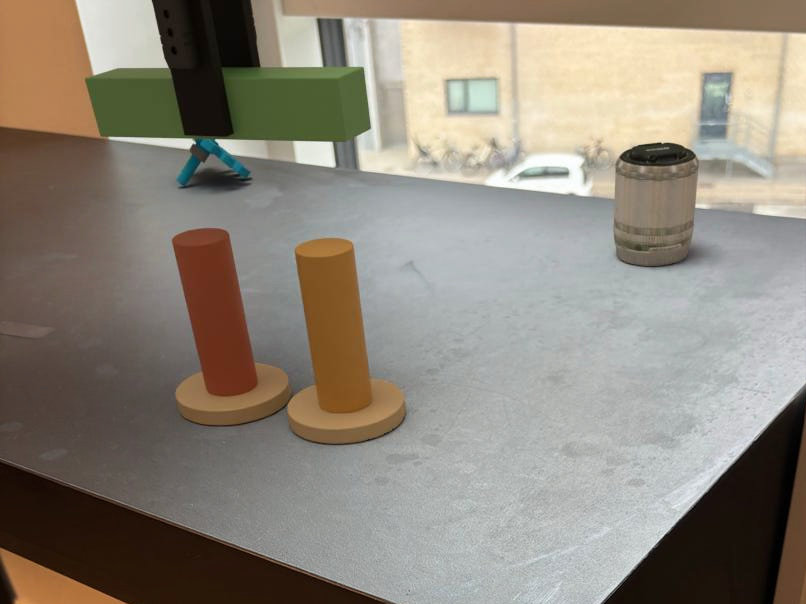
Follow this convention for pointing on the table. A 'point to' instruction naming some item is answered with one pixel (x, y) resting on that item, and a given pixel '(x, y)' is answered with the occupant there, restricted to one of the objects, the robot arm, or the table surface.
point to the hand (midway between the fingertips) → (227, 125)
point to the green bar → (238, 103)
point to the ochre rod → (338, 353)
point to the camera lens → (655, 203)
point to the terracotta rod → (221, 338)
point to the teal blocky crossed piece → (201, 154)
